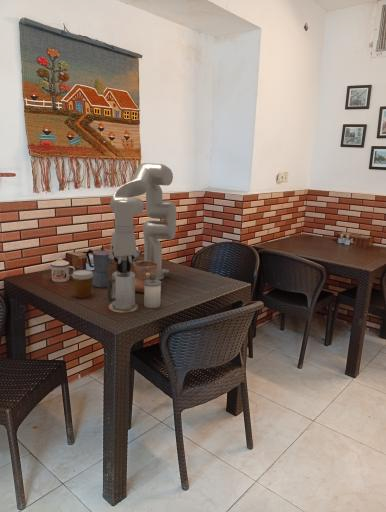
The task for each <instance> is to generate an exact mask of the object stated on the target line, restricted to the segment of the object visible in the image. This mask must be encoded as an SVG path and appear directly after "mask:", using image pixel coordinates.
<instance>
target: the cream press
mask: <svg viewBox="0 0 386 512" xmlns="http://www.w3.org/2000/svg"><path fill="white" fill-rule="evenodd" d="M161 286H162V281H161V280H156V273H150V280H145V281H144V293H143V294H144V295H143V296H144V297H143V306H144V307H145V308H149V309H157V308H160V306H161V295H162V294H161V293H162V292H161V291H162V289H161V288H162V287H161Z"/></svg>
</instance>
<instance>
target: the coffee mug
mask: <svg viewBox="0 0 386 512" xmlns="http://www.w3.org/2000/svg"><path fill="white" fill-rule="evenodd" d="M136 251H137V252H138V256H136V257H135V258H134V259H133V260H132V262H131V265H134V262H135V260H137V259H139V258H140V256H141V253H140V252H141V251H140V249H138V248H136ZM121 260H127V259H126V256H122V257H121Z"/></svg>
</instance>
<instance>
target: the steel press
mask: <svg viewBox="0 0 386 512" xmlns="http://www.w3.org/2000/svg"><path fill="white" fill-rule="evenodd" d="M122 274H123V273H120V272H118V271H117V270H116V271H114V272H113V273H112V274H111V279H109V280H107V287H106V288H107V302H108V303H111V304H112V308H113V309H115V310H119V311H127V310H131V309H133V308H134V307H135V303H136V297H135V296H136V291H135V279H136V273H135V272H134V271H131V270H130V272H128V271H127V273H125V275H122Z"/></svg>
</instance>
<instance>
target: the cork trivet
mask: <svg viewBox="0 0 386 512" xmlns="http://www.w3.org/2000/svg"><path fill="white" fill-rule="evenodd" d="M138 308H139V304H137V303H136V302H135V307H134V308H133V309H131V310H127V311H119V310H115V309H113V308H112V303H110V304H109V305H108V309H109V310H110V311H111V312H116V313H129V312H130V313H131V312H134V311H136V310H138Z"/></svg>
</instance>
